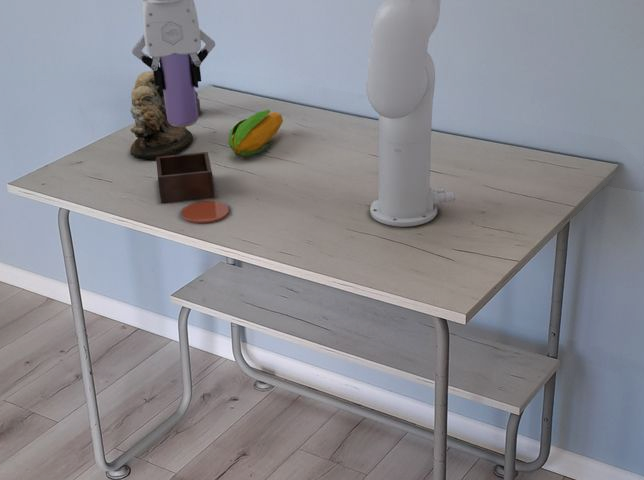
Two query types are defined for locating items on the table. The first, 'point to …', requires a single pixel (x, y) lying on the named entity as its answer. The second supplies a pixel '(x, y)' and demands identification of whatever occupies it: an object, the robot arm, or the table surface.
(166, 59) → the beverage can
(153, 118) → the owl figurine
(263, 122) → the corn
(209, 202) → the coaster
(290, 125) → the table surface
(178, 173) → the caddy
